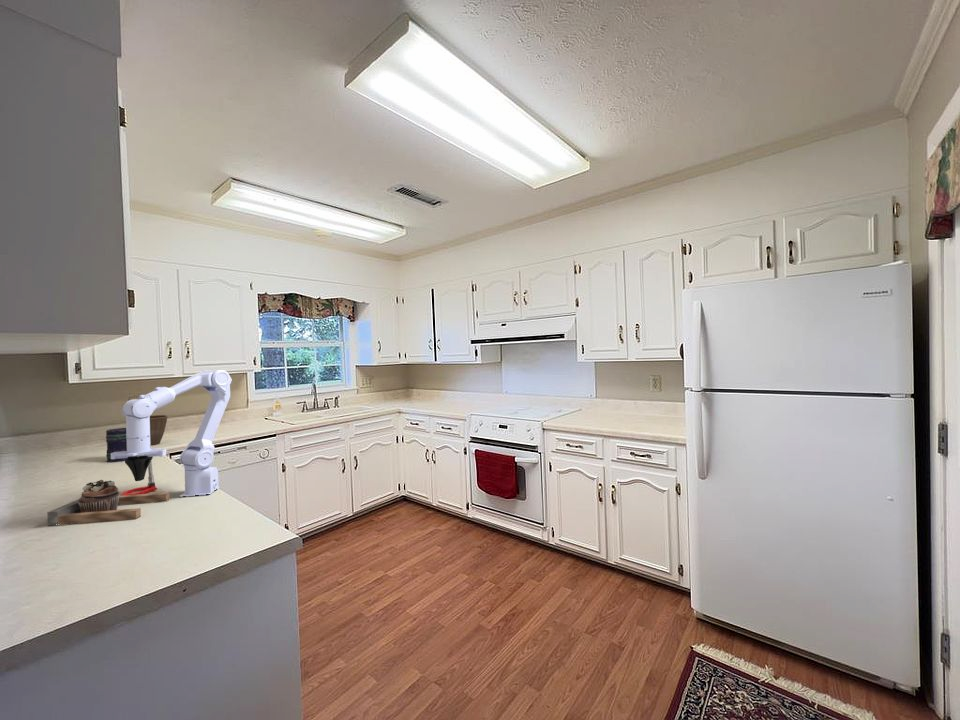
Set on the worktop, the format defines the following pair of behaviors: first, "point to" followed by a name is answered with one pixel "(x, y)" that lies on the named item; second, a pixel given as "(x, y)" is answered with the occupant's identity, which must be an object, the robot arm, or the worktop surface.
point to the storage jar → (116, 443)
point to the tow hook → (147, 488)
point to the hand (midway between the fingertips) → (139, 480)
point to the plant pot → (157, 428)
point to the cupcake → (99, 497)
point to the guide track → (74, 515)
